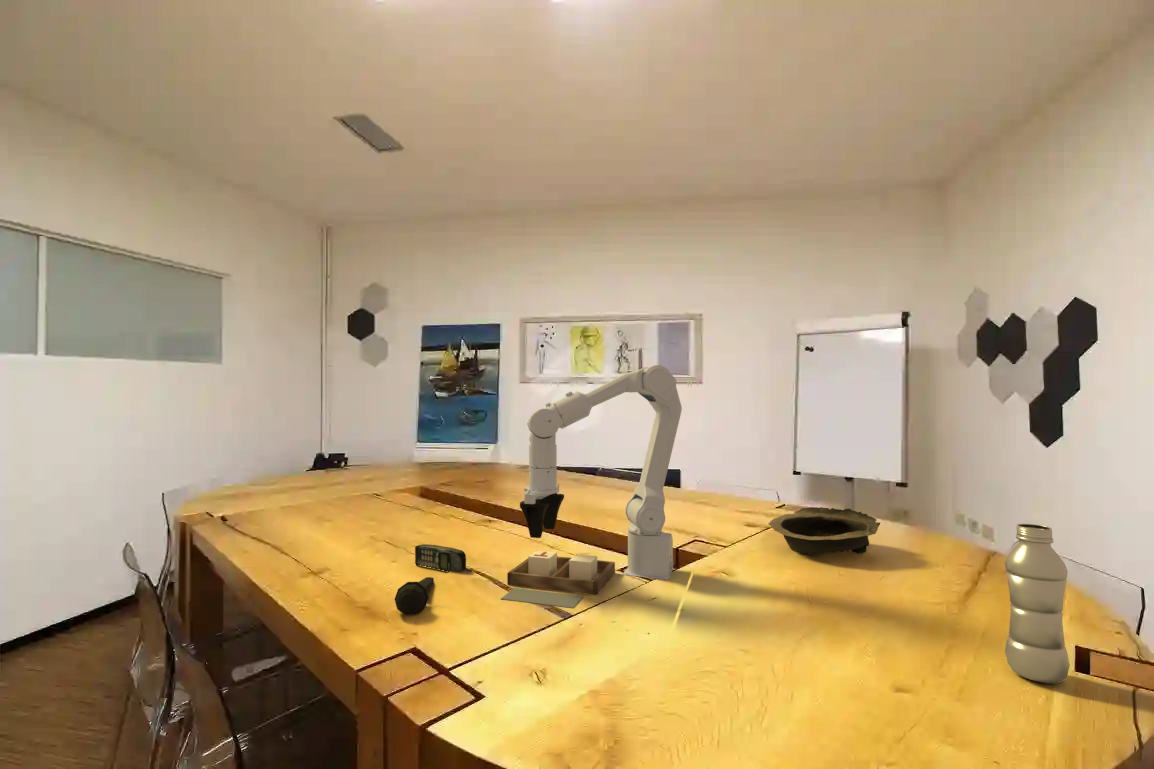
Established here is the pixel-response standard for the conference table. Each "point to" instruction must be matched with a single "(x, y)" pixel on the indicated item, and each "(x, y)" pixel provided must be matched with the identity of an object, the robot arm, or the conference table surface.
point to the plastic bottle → (1036, 607)
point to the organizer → (562, 578)
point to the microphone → (413, 596)
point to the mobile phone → (440, 558)
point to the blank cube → (583, 567)
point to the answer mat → (543, 597)
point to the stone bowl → (826, 530)
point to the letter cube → (542, 563)
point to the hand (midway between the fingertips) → (542, 532)
